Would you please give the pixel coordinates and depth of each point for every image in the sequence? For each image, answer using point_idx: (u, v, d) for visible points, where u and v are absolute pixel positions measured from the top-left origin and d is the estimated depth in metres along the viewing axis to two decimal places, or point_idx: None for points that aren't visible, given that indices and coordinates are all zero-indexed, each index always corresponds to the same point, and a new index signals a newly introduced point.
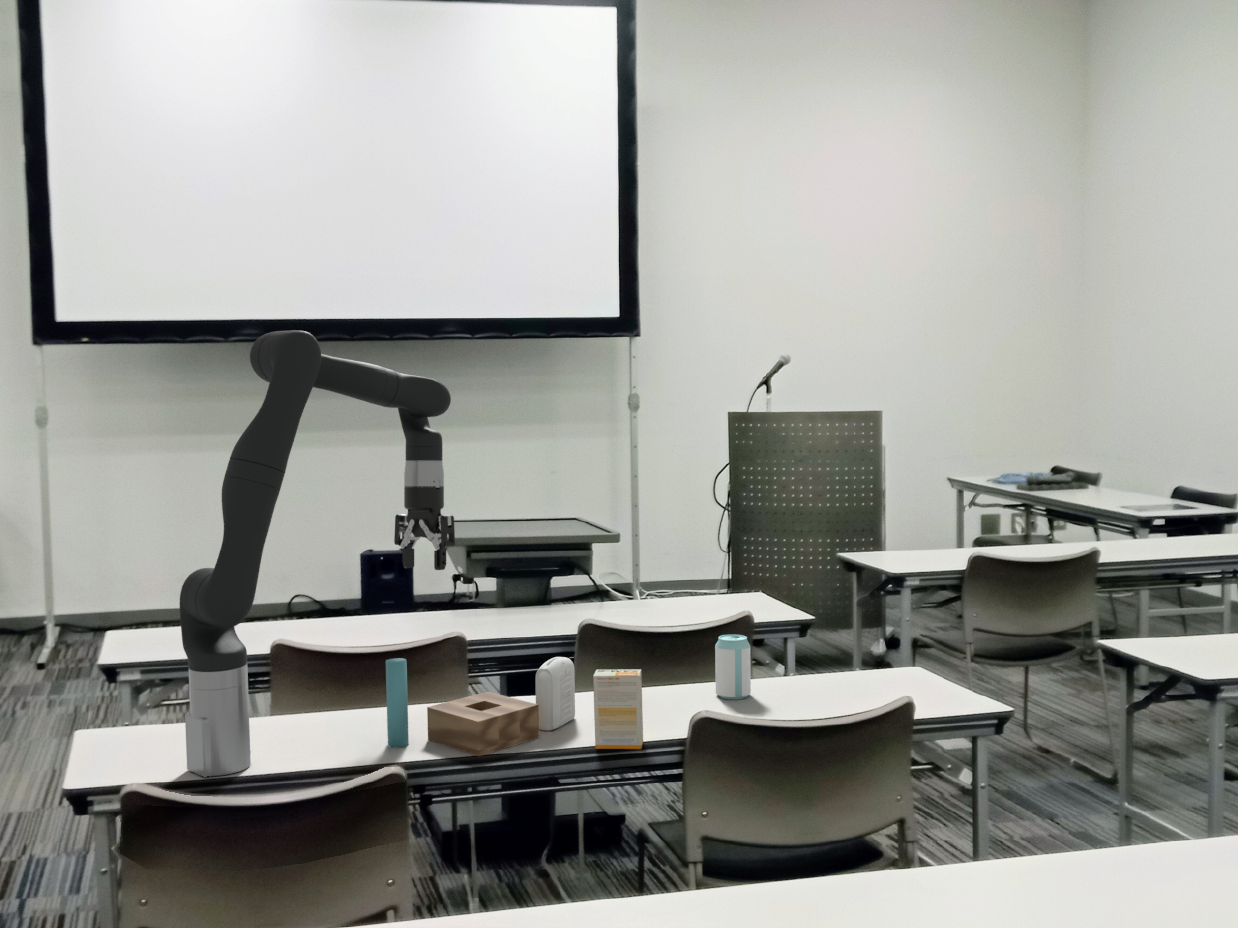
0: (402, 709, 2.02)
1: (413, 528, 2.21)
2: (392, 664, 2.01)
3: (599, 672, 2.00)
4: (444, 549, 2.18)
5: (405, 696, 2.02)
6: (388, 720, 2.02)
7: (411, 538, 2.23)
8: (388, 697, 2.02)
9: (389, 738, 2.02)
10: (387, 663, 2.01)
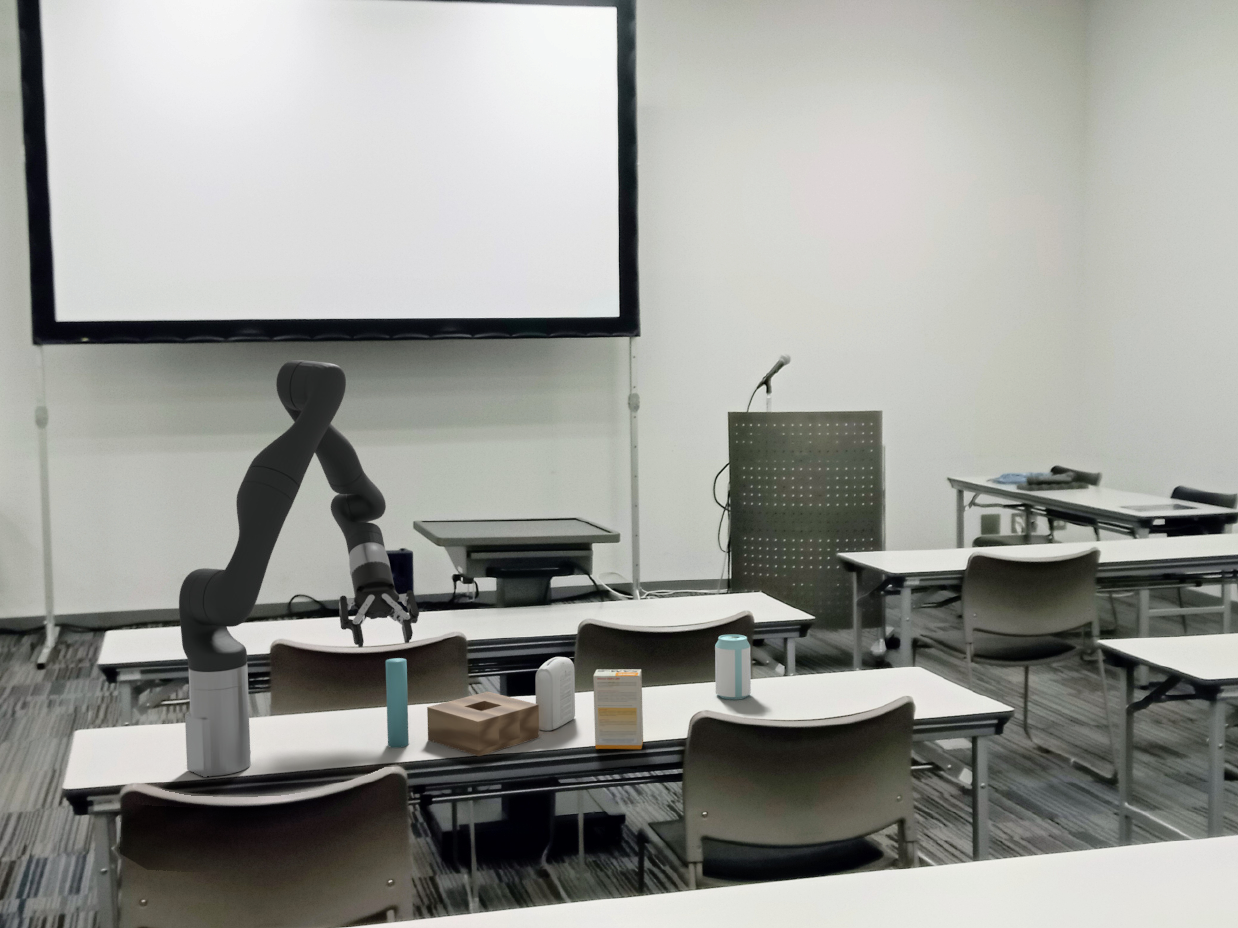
0: (402, 709, 2.02)
1: (371, 604, 2.14)
2: (392, 664, 2.01)
3: (599, 672, 2.00)
4: (410, 622, 2.16)
5: (405, 696, 2.02)
6: (388, 720, 2.02)
7: (364, 616, 2.13)
8: (388, 697, 2.02)
9: (389, 738, 2.02)
10: (387, 663, 2.01)
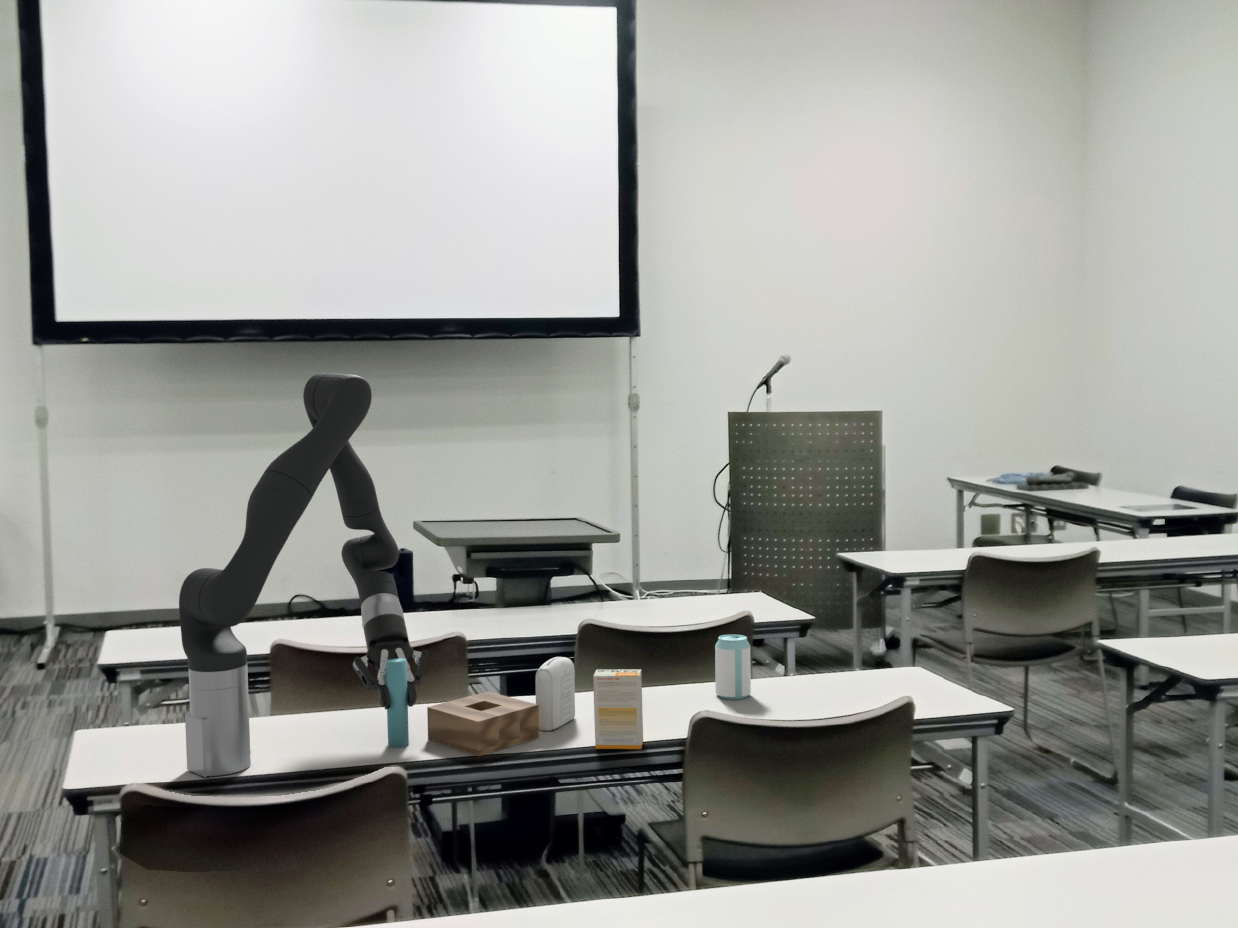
0: (402, 709, 2.02)
1: (387, 658, 2.05)
2: (392, 664, 2.01)
3: (599, 672, 2.00)
4: (414, 684, 2.05)
5: (405, 696, 2.02)
6: (388, 720, 2.02)
7: None
8: None
9: (389, 738, 2.02)
10: (387, 663, 2.01)
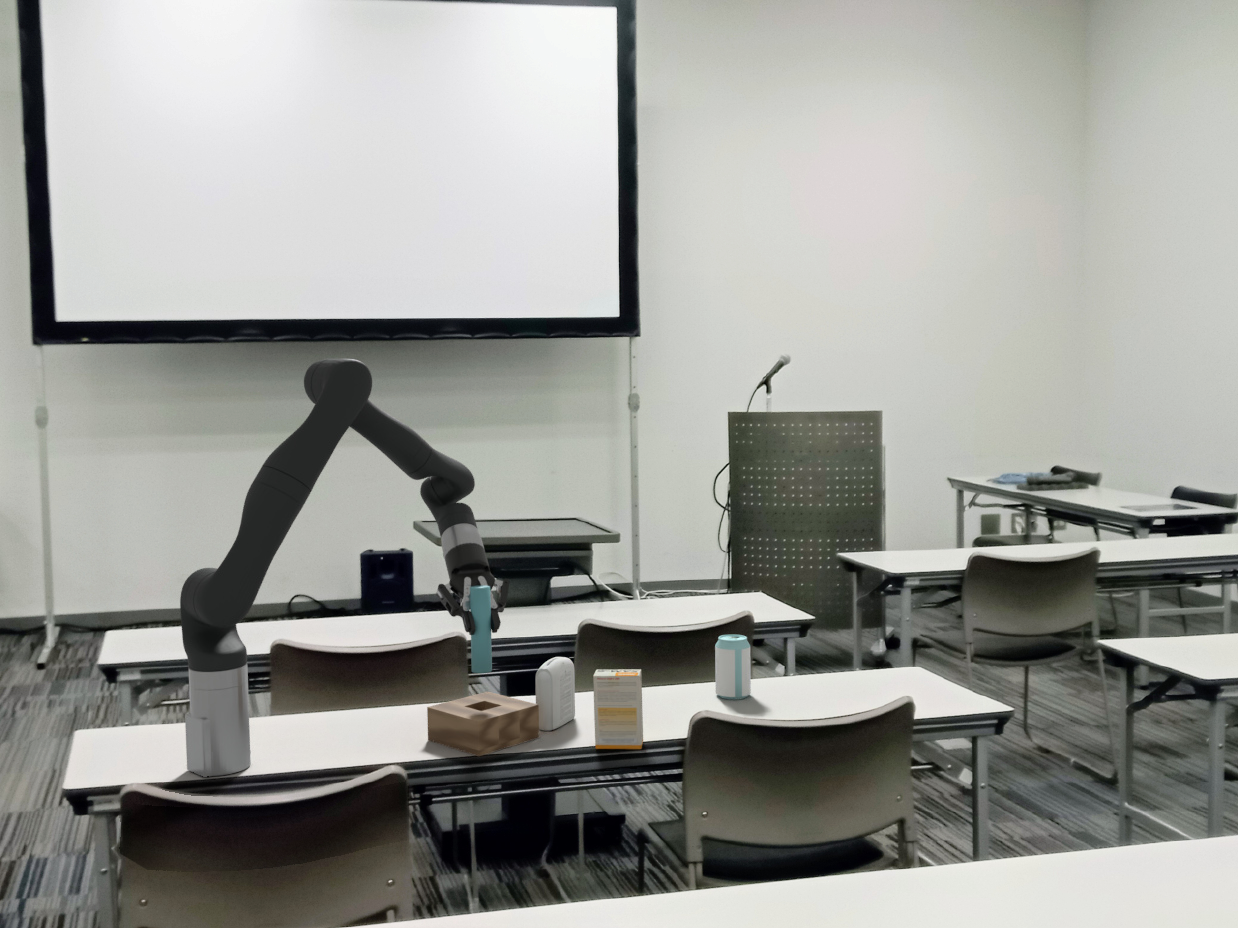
0: (486, 635, 2.04)
1: (470, 586, 2.07)
2: (477, 590, 2.03)
3: (599, 672, 2.00)
4: (497, 611, 2.07)
5: (489, 622, 2.04)
6: (472, 646, 2.04)
7: None
8: None
9: (473, 664, 2.04)
10: (472, 589, 2.03)
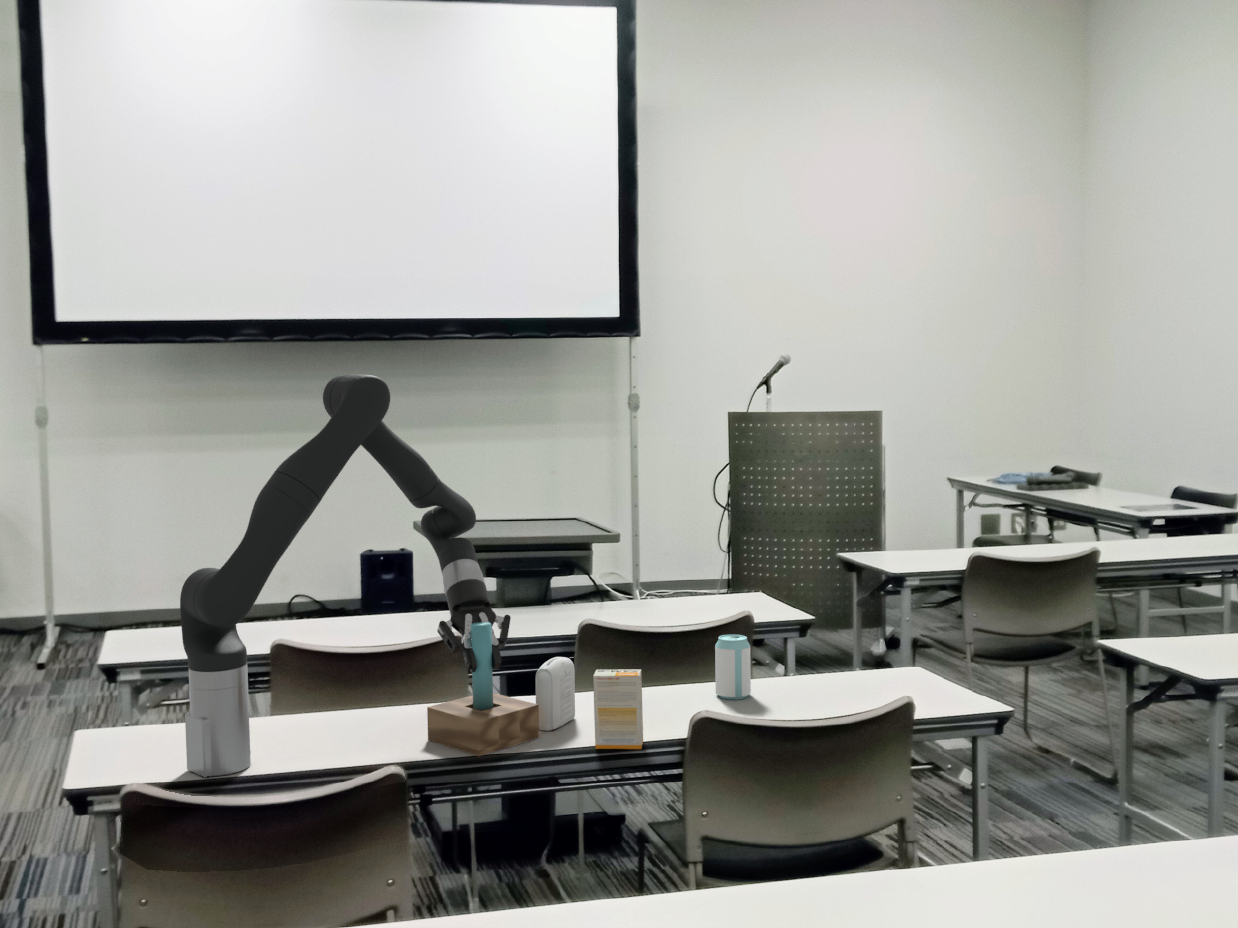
0: (487, 672, 2.04)
1: (471, 623, 2.07)
2: (478, 627, 2.03)
3: (599, 672, 2.00)
4: (498, 648, 2.07)
5: (490, 659, 2.04)
6: (473, 683, 2.04)
7: None
8: None
9: (474, 701, 2.04)
10: (473, 626, 2.04)
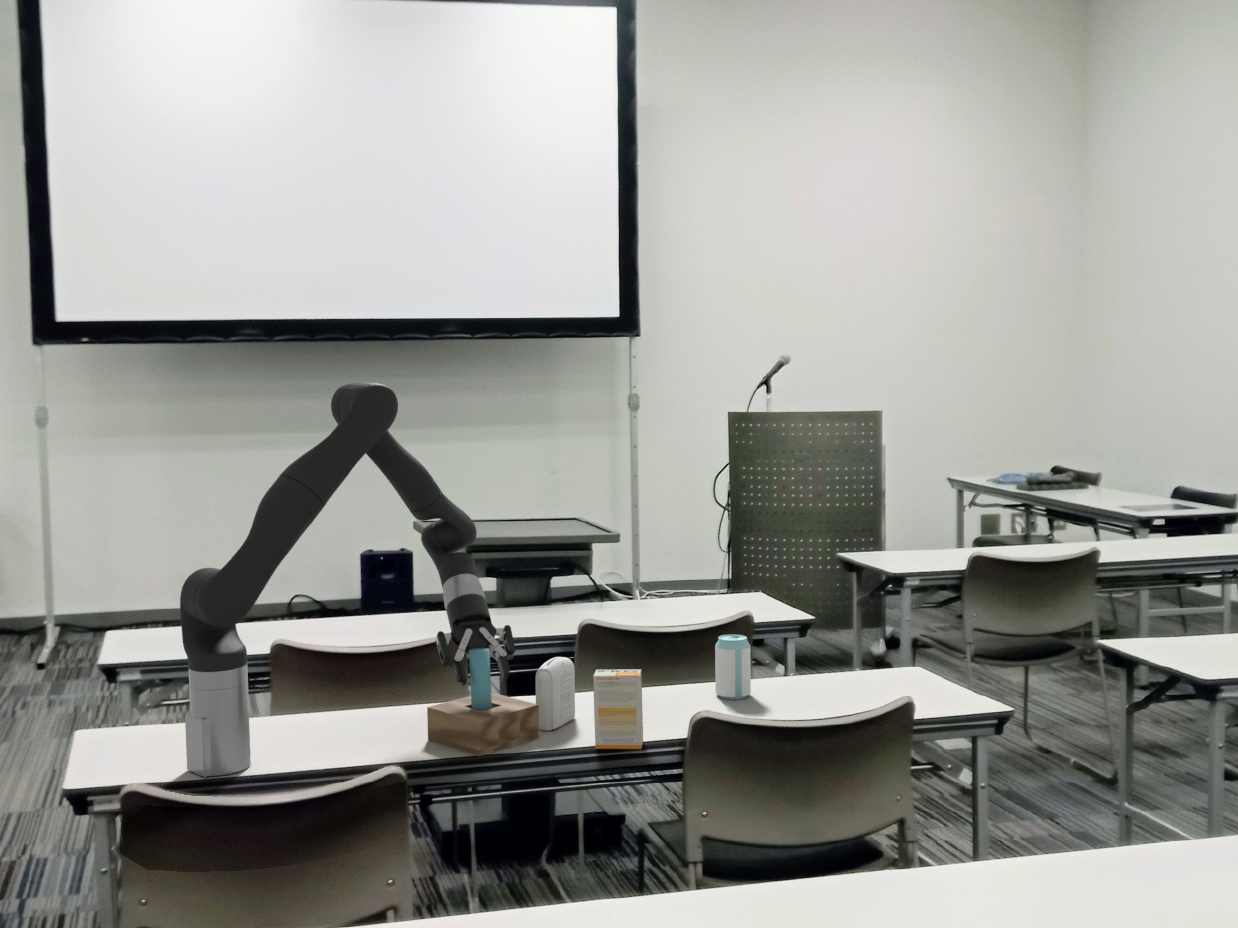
0: (486, 698, 2.04)
1: (469, 638, 2.07)
2: (476, 653, 2.03)
3: (599, 672, 2.00)
4: (506, 659, 2.08)
5: (489, 685, 2.05)
6: None
7: (464, 651, 2.06)
8: (472, 686, 2.04)
9: None
10: (471, 653, 2.04)
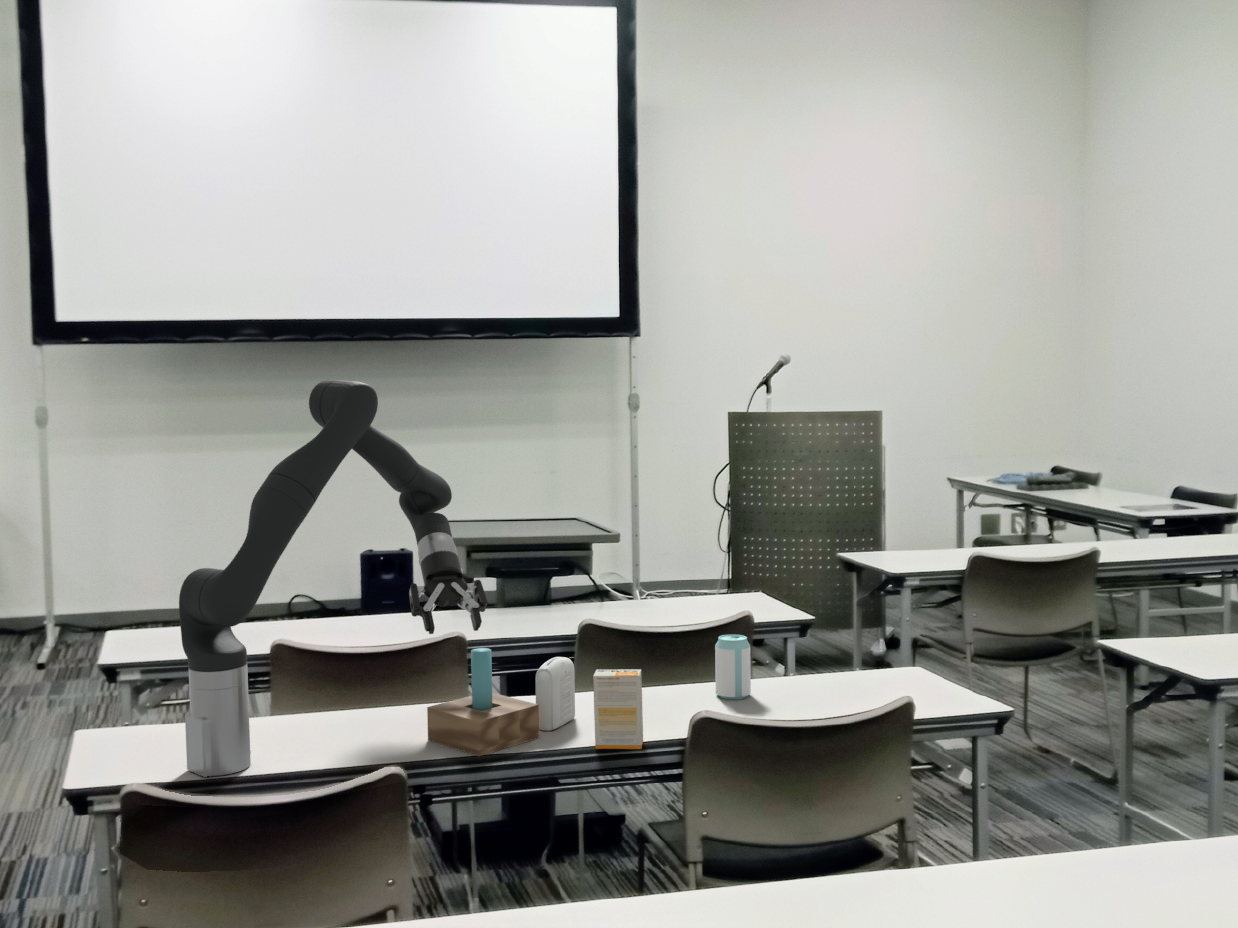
0: (487, 698, 2.04)
1: (441, 592, 2.18)
2: (478, 654, 2.03)
3: (599, 672, 2.00)
4: (479, 610, 2.19)
5: (490, 685, 2.05)
6: None
7: (434, 604, 2.17)
8: (474, 686, 2.04)
9: None
10: (473, 653, 2.04)
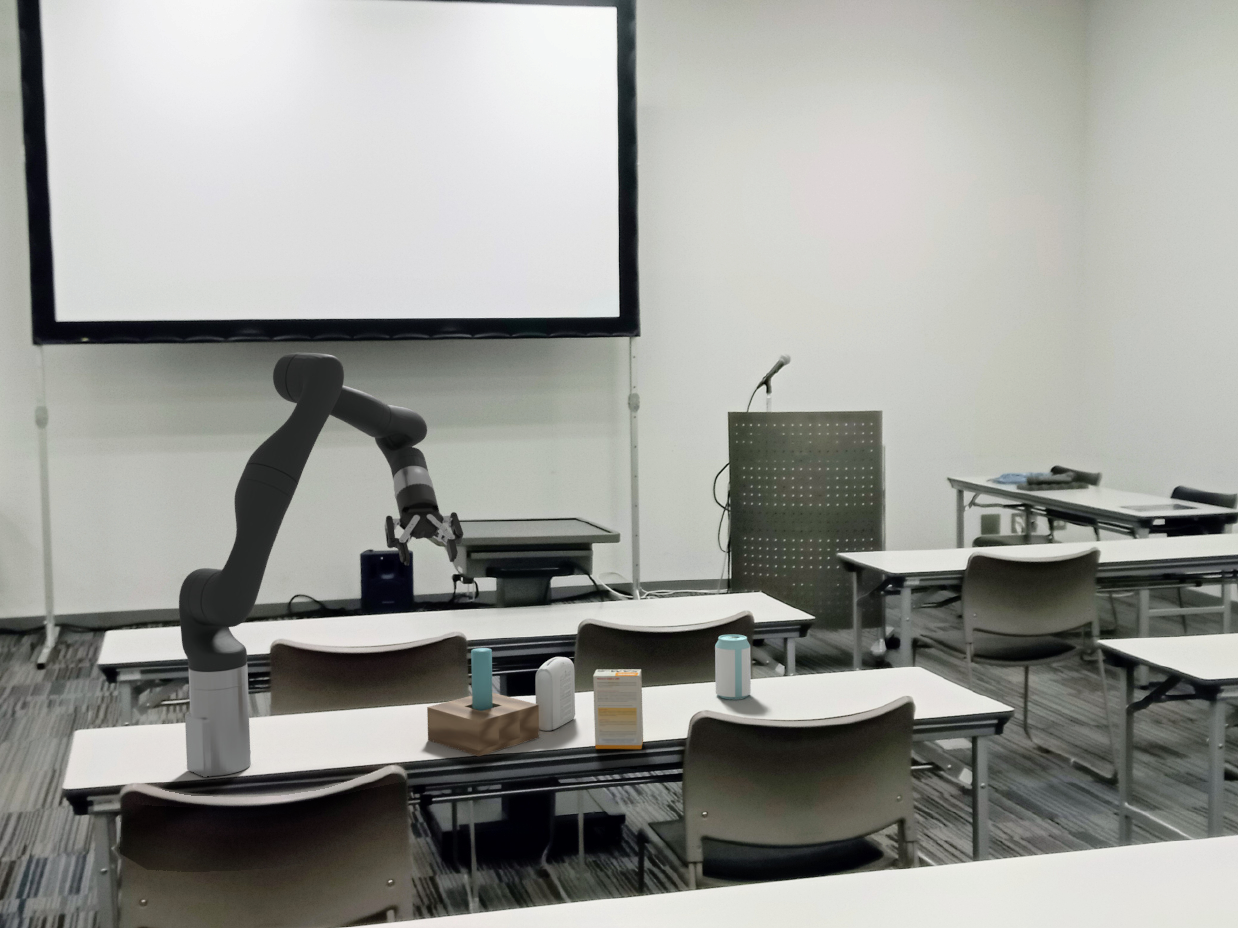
0: (487, 698, 2.04)
1: (416, 524, 2.18)
2: (478, 654, 2.03)
3: (599, 672, 2.00)
4: (455, 542, 2.19)
5: (490, 685, 2.05)
6: None
7: (409, 535, 2.17)
8: (474, 686, 2.04)
9: None
10: (473, 653, 2.04)
